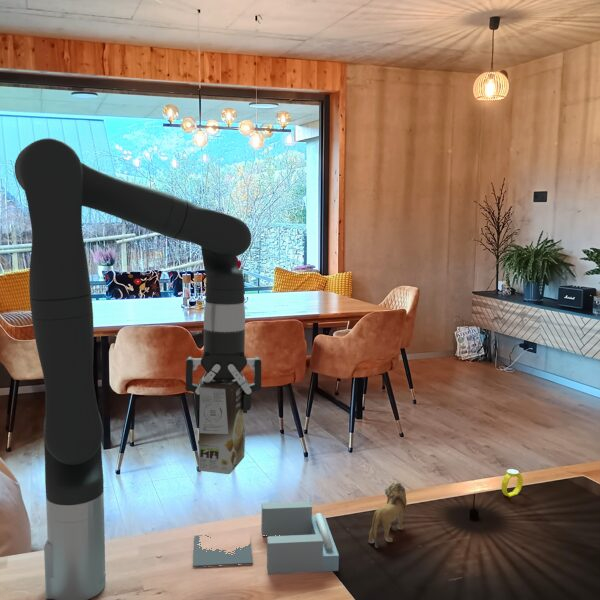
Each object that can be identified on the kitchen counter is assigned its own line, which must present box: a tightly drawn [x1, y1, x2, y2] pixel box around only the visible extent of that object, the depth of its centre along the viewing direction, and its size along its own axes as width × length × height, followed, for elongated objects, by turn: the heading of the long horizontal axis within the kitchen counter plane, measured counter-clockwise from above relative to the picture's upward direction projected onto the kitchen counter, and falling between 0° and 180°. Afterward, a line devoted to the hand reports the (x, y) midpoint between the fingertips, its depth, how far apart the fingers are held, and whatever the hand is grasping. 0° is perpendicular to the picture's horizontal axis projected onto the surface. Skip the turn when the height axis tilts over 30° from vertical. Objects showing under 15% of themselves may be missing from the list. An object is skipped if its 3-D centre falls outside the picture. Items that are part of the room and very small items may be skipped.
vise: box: [260, 501, 340, 575], centre depth 125 cm, size 13×16×6 cm
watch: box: [501, 468, 524, 498], centre depth 152 cm, size 6×3×6 cm, turn 123°
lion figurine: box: [368, 481, 407, 549], centre depth 132 cm, size 15×5×9 cm, turn 157°
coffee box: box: [198, 377, 247, 475], centre depth 121 cm, size 9×6×16 cm
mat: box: [192, 534, 254, 568], centre depth 125 cm, size 11×11×1 cm
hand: (223, 412), depth 121 cm, fingers closed on coffee box, 7 cm apart
